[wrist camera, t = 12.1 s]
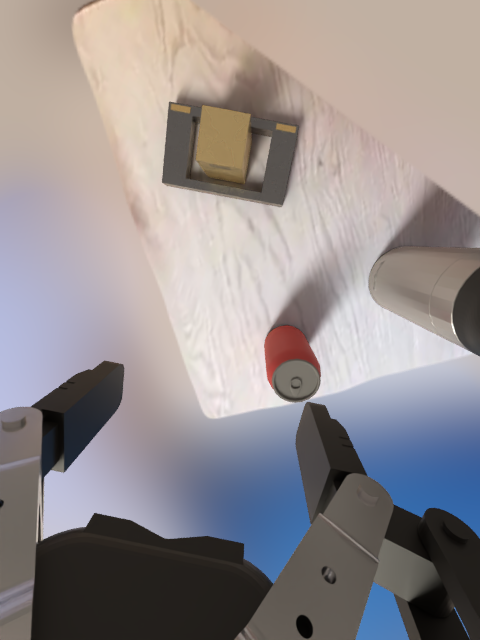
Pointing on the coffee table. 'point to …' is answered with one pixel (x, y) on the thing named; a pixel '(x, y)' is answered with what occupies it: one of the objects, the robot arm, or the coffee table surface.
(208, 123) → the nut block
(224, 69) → the coffee table surface
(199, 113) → the grey rectangular frame
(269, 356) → the beer can
